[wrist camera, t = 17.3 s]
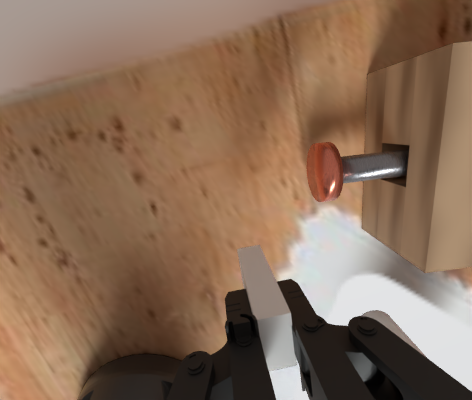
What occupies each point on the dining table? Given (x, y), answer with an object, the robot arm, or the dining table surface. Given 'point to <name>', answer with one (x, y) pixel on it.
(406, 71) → the dock
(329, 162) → the lock pin
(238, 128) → the dining table surface
